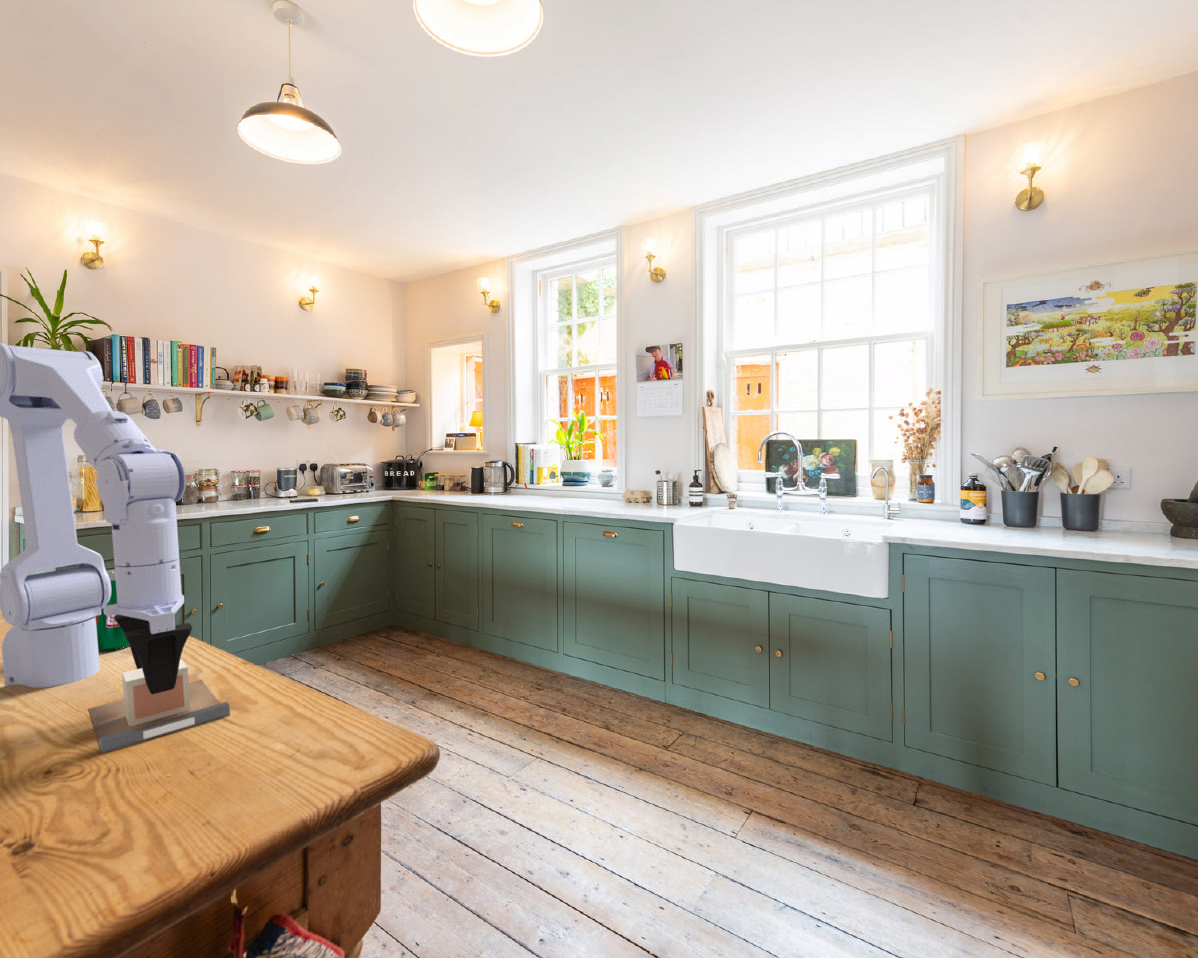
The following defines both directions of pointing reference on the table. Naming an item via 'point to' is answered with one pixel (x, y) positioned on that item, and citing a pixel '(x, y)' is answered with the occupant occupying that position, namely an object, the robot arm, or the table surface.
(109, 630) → the soda can
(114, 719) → the shelf board
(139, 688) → the carton
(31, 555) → the robot arm
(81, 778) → the table surface
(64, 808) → the table surface
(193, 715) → the rail
